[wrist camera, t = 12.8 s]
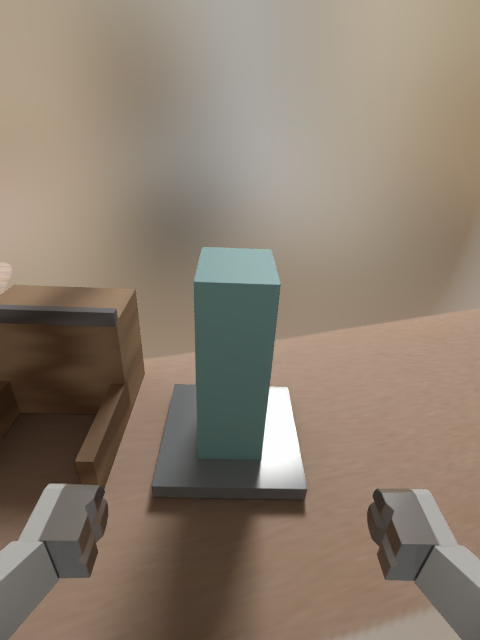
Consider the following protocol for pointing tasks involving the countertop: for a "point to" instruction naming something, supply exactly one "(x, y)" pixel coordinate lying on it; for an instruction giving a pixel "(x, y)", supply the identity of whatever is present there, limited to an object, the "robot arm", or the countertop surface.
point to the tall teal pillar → (234, 349)
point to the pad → (229, 474)
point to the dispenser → (72, 363)
